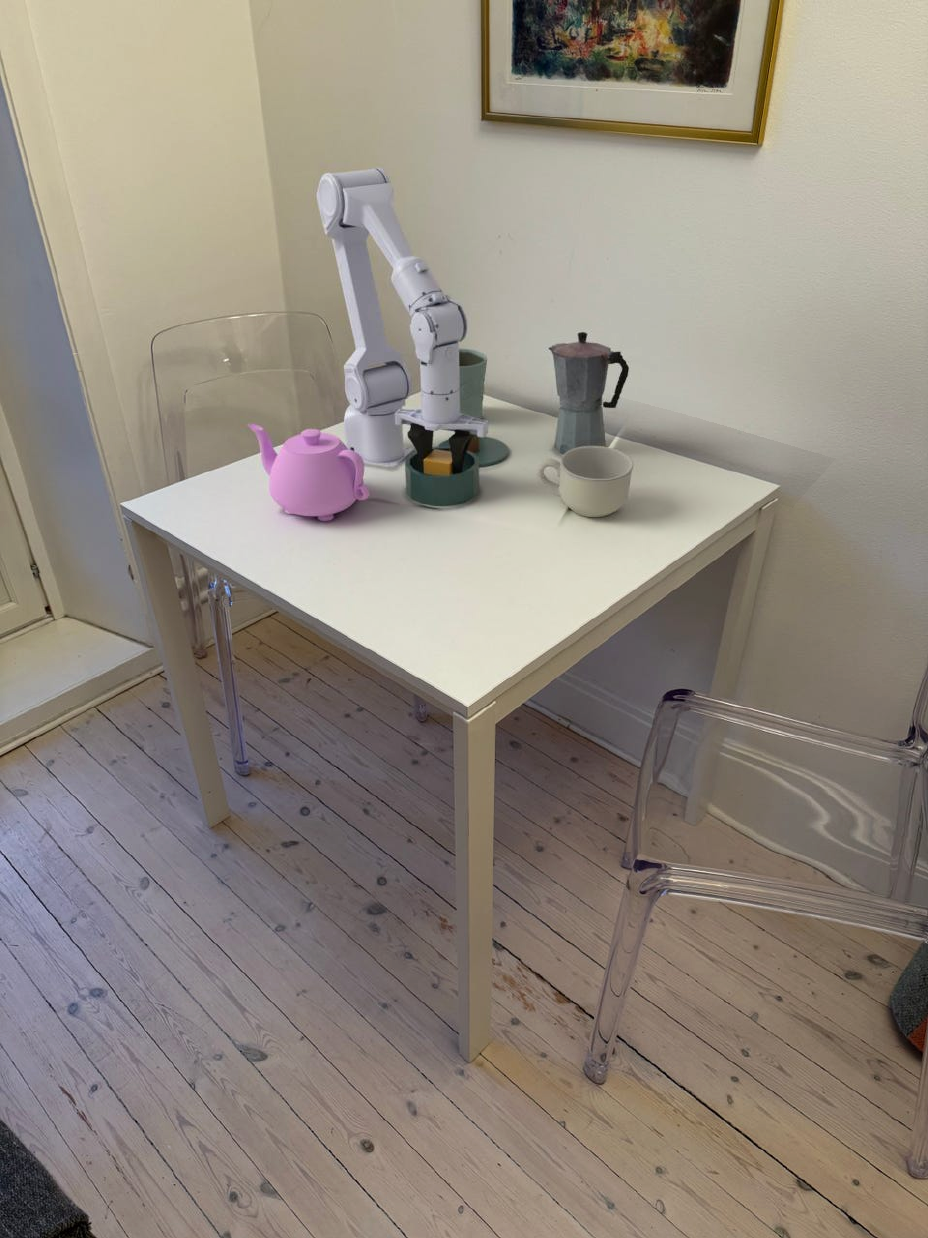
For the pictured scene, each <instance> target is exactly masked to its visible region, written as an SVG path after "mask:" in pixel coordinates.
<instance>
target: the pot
mask: <svg viewBox="0 0 928 1238" xmlns="http://www.w3.org/2000/svg"><path fill="white" fill-rule="evenodd" d="M435 449H437V450H444V451H450V452H451V449H450V447H437V446H433V450H435ZM404 471H405V489H406V490H405V491H406V495H407V496H408V497H409V499H410V500H412V501H415V502H416V503H419V504H418V506H419V507H423V508H426V509H433V510H440V508H439V507H453V506H456V505H461V504H465V503H467V502H469V501H471V500H473V499H475V498H476V497H477V496H478V494H479V493H480V467H479V458H478V457H477V456H476V455H475V454H474V453H473V452H470V451H468V450H467V453H466V456H465V459H464V463H463V468H462V472H461V473H457V474H451V475H431V474H425V473H424V471H423V468H422V464H421V461H420V458H419V456H418V453H417V451H416V450H415V451H414V452H411V454H408V455H407V456H406V457H405V461H404Z"/></svg>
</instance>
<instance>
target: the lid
mask: <svg viewBox="0 0 928 1238" xmlns="http://www.w3.org/2000/svg"><path fill="white" fill-rule="evenodd" d="M436 447H450V444H449V438H448V439H446V440H444V441H442V442H440V443H438V444H437V446H436ZM468 451H470V452H473V453H474V454H475V455H476V456H477V457H478V458H479V468H483V467H489V466H492V465H496V464H498V463H500V462H502V461H504V460H505V459H506V458H507V457H508V455H509V447H508V446H507V444H505V442H503V441H501V440H499V439H497V438H494V437H489V436H484V437H478V436H477V435H474V437H473V439H472V441H471V443H470V445H469V448H468Z"/></svg>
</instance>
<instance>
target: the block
mask: <svg viewBox="0 0 928 1238" xmlns="http://www.w3.org/2000/svg"><path fill="white" fill-rule="evenodd" d="M424 473H425V474H431V475H451V474H453V473H452V454H451V452H450V451H444V450H437V449H435V450H433V451H432V452H431V453H430V454H429V455H428V456H427V457H426V458H425V459H424Z"/></svg>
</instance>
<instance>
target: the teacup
mask: <svg viewBox="0 0 928 1238" xmlns="http://www.w3.org/2000/svg"><path fill="white" fill-rule="evenodd" d="M546 468H554V470H555V471H556V473H557V477H558V478H559V484H558V483H555V482H553V481H551V480H550V479H549V478H548V477H547V476H546V475H545V470H546ZM633 469H634V462H633V460H632V458H631V457H630V456H629V455H628V454H626V453H625V452H623V451H621V450H619V449H615V448H612V447H608V446H606V447H602V446H583V447H578V448H574V449H571V450H569V451H567V452H566V453H565V454H562V456H561V457H560V462H559V460H557V459H555V458H554V459H553V458H547V459H544V460H542V461H541V462H540V463H539V465H538V467H537V478H538V479H539V481H540V483H542V485H544V487H546V488H548V489H550V490H551V491H553V492H554V493H555V495H556V496H557V497H560V498H561V500H562V502H563V503H564V504H565V506H567V507H568V508H569V509H570V510H571V511H573V513H576V514H577V515H579V516H583V517H587V518H603V517H606V516H608V515H611V514H613V513H614V512H616V511H618V510H620V509H621V508H622V507H623V506H624V504H625V503H626V501H627V499H628V496H629V492H630V486H631V481H632V471H633Z"/></svg>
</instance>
